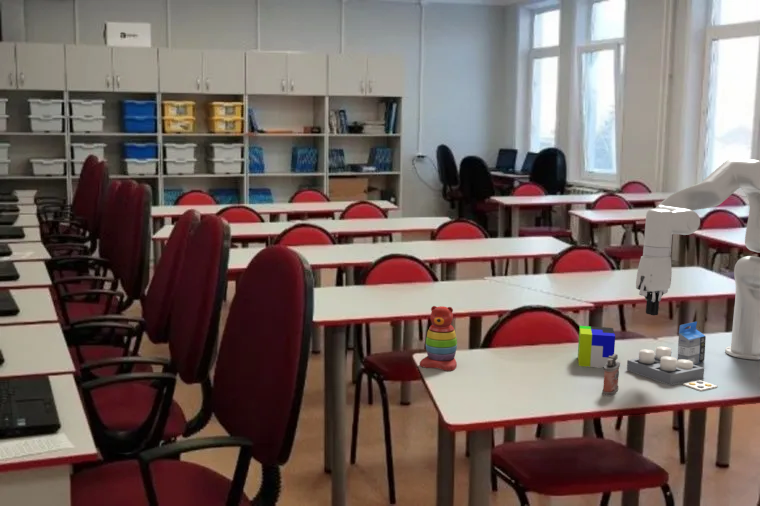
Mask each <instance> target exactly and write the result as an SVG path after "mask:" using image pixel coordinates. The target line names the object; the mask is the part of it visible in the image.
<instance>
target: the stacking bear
mask: <svg viewBox="0 0 760 506" xmlns="http://www.w3.org/2000/svg"><path fill="white" fill-rule="evenodd" d="M430 310H431V313H430V322H431V325H430V326H429V327H428V330H427V332H426V337H425V350H426V355H427V356H425V357H424V358H422V359H421V360H420V361H419V366H420V367H422V368H426V369H429V368H430V369H431V368H432V369H433V368H434V369H440V370H442V371H454V370H455V369H457V365H458V363H457V360H456V358H455V357H456V351H457V348H458V339H457V334H456V330H455V328H454V326H453V325H452V323H453V318H454V314H453V312H454V309H453V308H452V307H451V306H448V307H447V306H443V305H441V306H440V305H439V306H435V305H433V306H431V308H430Z"/></svg>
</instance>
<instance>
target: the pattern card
mask: <svg viewBox="0 0 760 506" xmlns="http://www.w3.org/2000/svg"><path fill="white" fill-rule="evenodd" d="M682 386H684V387H688V388H691V389H693V390H696V391H699V392H704V391H707V390H713V389H717V388H719V387H718V385H715V384H713V383H710V382H707V381H705V380H702V379H697V380H692V381H688V382H683V383H682Z"/></svg>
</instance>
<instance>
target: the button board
mask: <svg viewBox="0 0 760 506" xmlns="http://www.w3.org/2000/svg"><path fill="white" fill-rule="evenodd" d="M676 359H677V360H678V358H676ZM660 361H661V360H659V359H656V358H654V363H651V364H647V363H642V362H639V357H636V358H632V359H627V364H626V371H629V372H632V373H635V374H638V375H641V376H643V377H646V378H649V379H651V380H654V381H657V382H660V383H662V384H666V385H668V386H673V385H677V384H683V383H688V382H693V381H697V380H702V379H704V376H705V368H704V367H703V366H700V365H697V364H695V365H693V368H692V369H687V370H685V369H682V368H679V367H677V366H676V370H675V371H666V370H662V369H660ZM701 378H702V379H701Z"/></svg>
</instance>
